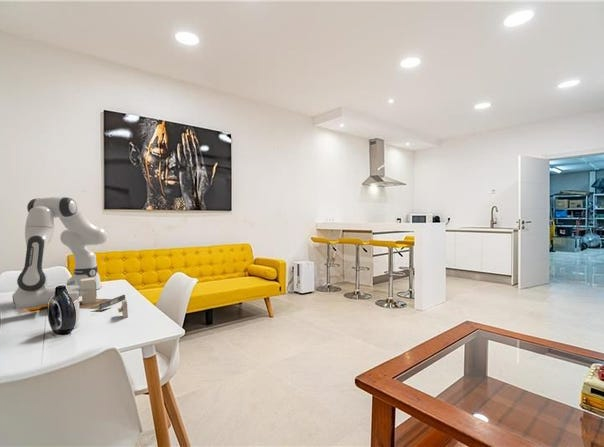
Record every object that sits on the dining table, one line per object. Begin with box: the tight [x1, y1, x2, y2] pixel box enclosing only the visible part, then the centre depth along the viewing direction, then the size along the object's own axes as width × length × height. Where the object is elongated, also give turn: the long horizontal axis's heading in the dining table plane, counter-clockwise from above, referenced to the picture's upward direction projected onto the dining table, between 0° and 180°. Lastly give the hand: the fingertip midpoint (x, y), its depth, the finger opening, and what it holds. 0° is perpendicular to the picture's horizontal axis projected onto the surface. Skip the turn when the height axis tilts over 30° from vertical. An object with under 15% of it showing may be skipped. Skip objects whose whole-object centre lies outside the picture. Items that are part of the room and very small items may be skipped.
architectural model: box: [117, 299, 129, 319], centre depth 146 cm, size 3×7×7 cm, turn 35°
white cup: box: [72, 301, 80, 330], centre depth 133 cm, size 8×8×10 cm
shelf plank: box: [78, 294, 126, 313], centre depth 163 cm, size 23×16×4 cm
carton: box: [81, 277, 98, 304], centre depth 166 cm, size 6×6×12 cm
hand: (89, 290), depth 166 cm, fingers open, 8 cm apart
